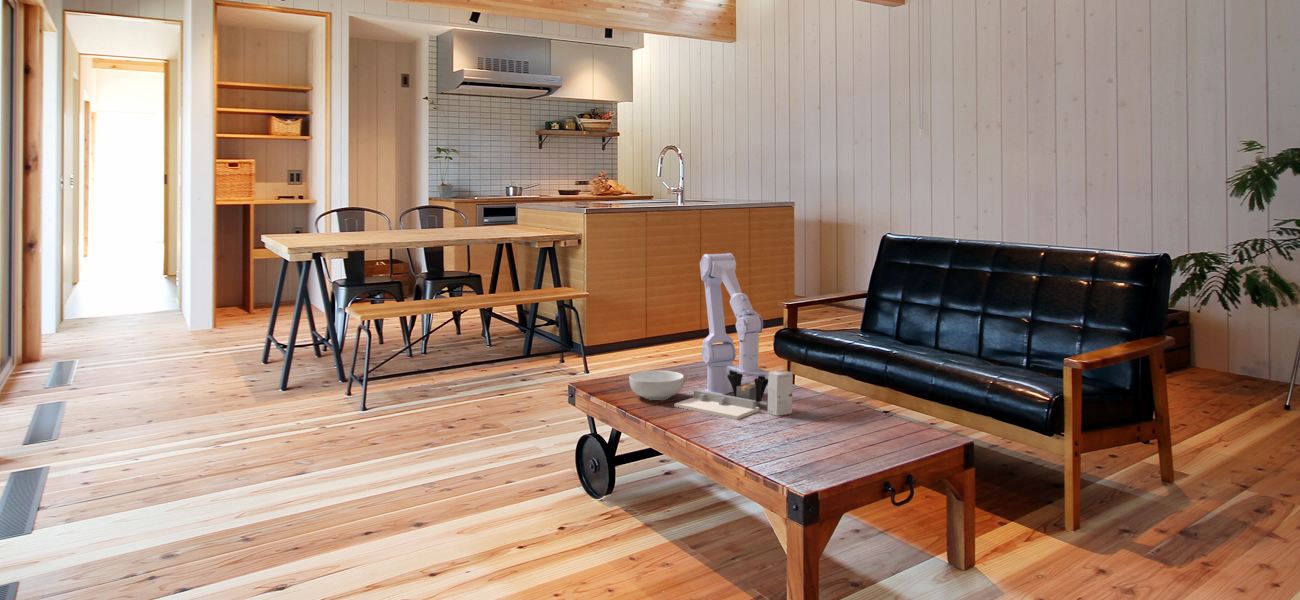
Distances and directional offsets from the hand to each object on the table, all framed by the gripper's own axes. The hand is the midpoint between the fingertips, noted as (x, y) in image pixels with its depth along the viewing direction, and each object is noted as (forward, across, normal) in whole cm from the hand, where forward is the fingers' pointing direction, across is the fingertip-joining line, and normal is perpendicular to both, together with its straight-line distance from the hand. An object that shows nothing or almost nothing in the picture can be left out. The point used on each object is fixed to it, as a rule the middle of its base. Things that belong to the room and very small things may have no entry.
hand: (748, 399), depth 255 cm
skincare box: (+2, +12, -2) cm, 12 cm away
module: (+2, 0, 0) cm, 2 cm away
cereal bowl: (+2, -27, -10) cm, 29 cm away
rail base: (+2, -5, -10) cm, 11 cm away
